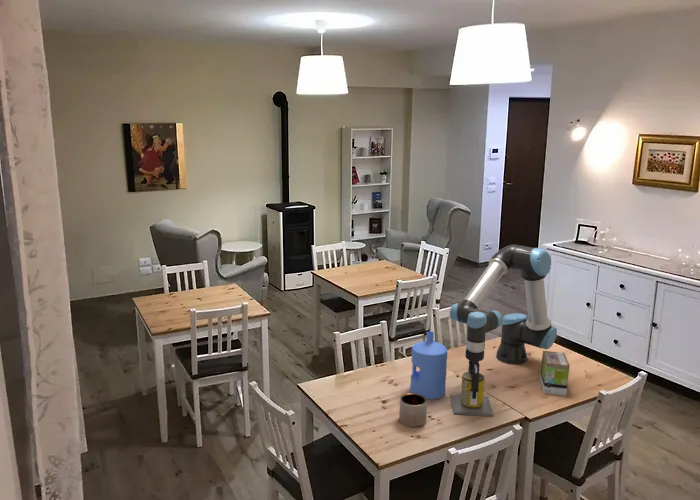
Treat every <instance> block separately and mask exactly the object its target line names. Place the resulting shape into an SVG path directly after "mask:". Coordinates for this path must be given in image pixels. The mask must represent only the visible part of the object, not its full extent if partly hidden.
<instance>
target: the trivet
mask: <svg viewBox="0 0 700 500" xmlns="http://www.w3.org/2000/svg"><path fill="white" fill-rule="evenodd" d="M450 399H451V404H452V406H451V407H452V412H453V415H457V416H473V415H474V416H475V417H491V416H493V417H494V415H495V414H494V411H493V408H492V405H491V402H490V398H489V396H486V395H483V404H482V406H480V407H477V408H471V407H467V406H465V405H463V404H462V403H461V394H450Z"/></svg>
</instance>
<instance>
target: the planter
mask: <svg viewBox="0 0 700 500" xmlns="http://www.w3.org/2000/svg"><path fill="white" fill-rule="evenodd" d="M427 408H428V399H426V397H424V396H423V395H420V394H416V393H411V392H410V393H405V394H402V395H401V396H400V399H399V412H398V415H399V416H398V417H399V418H398V419H399V421H400V423H401V424H402V425H405V426H407V427H410V428H418V427H422V426H423V425H425V424H426V423H427V414H428V409H427Z"/></svg>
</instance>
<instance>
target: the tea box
mask: <svg viewBox="0 0 700 500" xmlns="http://www.w3.org/2000/svg"><path fill="white" fill-rule="evenodd" d="M570 366H571V365H570V363H569V361H568V357H567V356H566V354H565V352H560V351H550V350H549V351H548V350H543V351H542V355H541V366H540V367H541V368H540V376H539V380H540V384H541V388H542V391H543V394H548V395H557V396H566V395H567V394H568V393H567V391H568V382H569V377H570V375H569V374H570Z"/></svg>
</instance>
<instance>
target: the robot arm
mask: <svg viewBox="0 0 700 500" xmlns="http://www.w3.org/2000/svg"><path fill="white" fill-rule="evenodd" d="M551 266H552V257H551V255H550V253H549V252H548V251H547V250H545V249H542V248H539V247H531V246H526V245H525V246H524V245H520V244H509V245H507V246H505V247H503V248H501V249H499V250H497V252H495V253H494V254H493V255H492V257H490V259H489V261H488V266H487V267H486V268H485V270H484V271H483V273H482V274H481V275H480V277H479V278H478V279H477V280H476V283H474V285H473V286H472V288H471V289H470V290H469V292H468V293H467V295H466V296H465V298H464V299H463V300H462V301H461V303H454V304H452V305H451V307H450V309H449V316H450V319H452V320H454V321H456V322H458V323H463V324H466V326H467V327H466V341H464V344H465V345H466V346H465V358H466V360H468V368H467V370H468V371H467V372H470V374H471V380H472V384H471V390H470V391H471V394H470V405H477V393H478V391H479V390H478V388H479V373H480V362H481V361H483V360H484V359H485V358H484V357H485V347H486V334H487V333H489V332H492V331H494V330H496V329H497V328H499V327H500V326H501V336H500V337H501V338H500V344H499V346H498V347H497V350H496V355H495V356H496V359H497V360H498V361H500V362H502V363H506V364H510V365H522V364H525V363H526V362H528V353H527V350H526V345H530V346H532V347H534V348H539V349H543V350H549V349H550V348H551V347H552V346H553V345H554V343H555V341H556V338H557V335H558V329H557V327H556V326H554V325H552V321H551V319H550V318H549V317H548V310H547V301H546V299H547V298H546V289H545V278H546V277H547V275H549V273H550V272H551V268H552V267H551ZM510 270H511V271H512V270H514V271H519V274H520V275H519V276H520V278H521V279H522V280H524V289H525V298H526V299H525V300H526V306H527V307H526V308H527V315H526V314H524V313H515V312H514V313H508V314H505V315H504V316H502V314H501V313H500V312H499V311H497V310H488V311H486V310H482V309H480V307H481V306H482V305H483V303H484V302H485V300H486V299H487V297H488V296H489V295H490V293H491V292H492V290H493V289H494V288H495V286H496V285H497V283H498V282H499V281H500V280H501V278H502V276H503V275H506V274H507V273H508V272H509V271H510ZM527 316H528V317H527ZM525 344H526V345H525Z"/></svg>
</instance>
